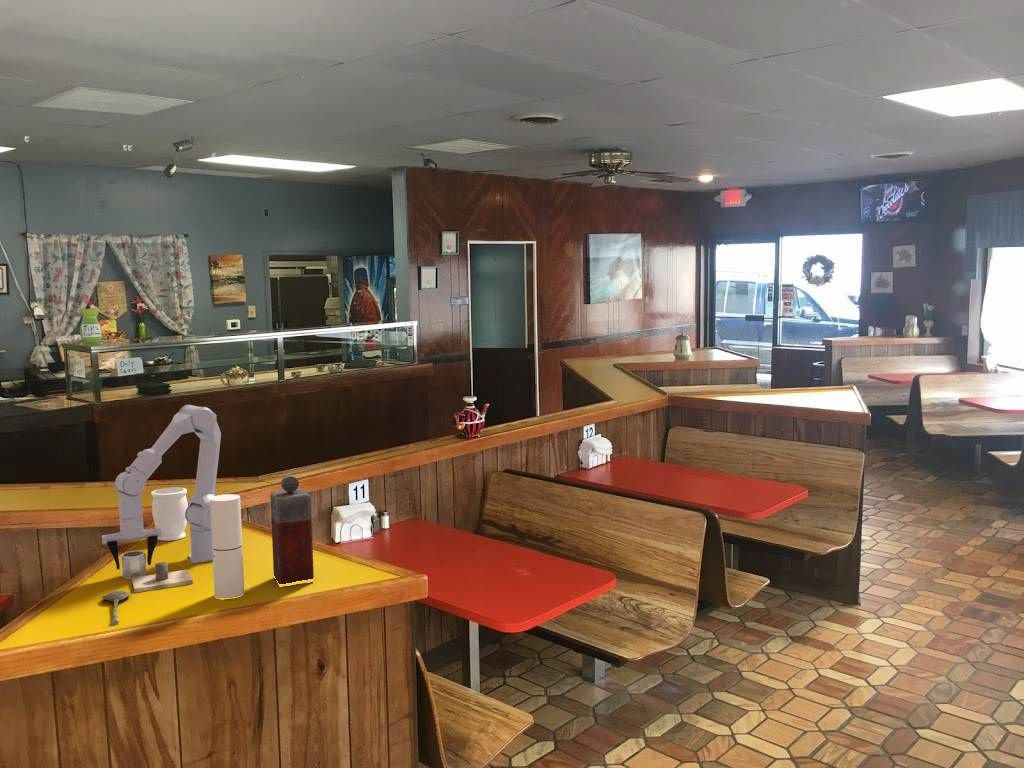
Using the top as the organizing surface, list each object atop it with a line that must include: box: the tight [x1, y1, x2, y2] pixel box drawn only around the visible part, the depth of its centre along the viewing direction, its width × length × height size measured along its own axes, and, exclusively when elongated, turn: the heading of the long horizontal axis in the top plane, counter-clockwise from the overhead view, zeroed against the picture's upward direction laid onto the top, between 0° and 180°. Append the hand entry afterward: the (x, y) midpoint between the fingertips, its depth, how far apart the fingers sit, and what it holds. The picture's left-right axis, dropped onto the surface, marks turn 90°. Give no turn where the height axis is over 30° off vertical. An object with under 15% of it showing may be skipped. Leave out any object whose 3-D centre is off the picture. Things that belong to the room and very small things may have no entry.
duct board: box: [131, 561, 194, 593], centre depth 227 cm, size 14×10×5 cm
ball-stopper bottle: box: [270, 474, 315, 584], centre depth 227 cm, size 9×11×28 cm
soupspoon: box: [101, 590, 132, 626], centre depth 208 cm, size 22×3×7 cm
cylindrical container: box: [210, 493, 245, 598], centre depth 215 cm, size 7×7×25 cm
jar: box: [150, 486, 189, 542], centre depth 269 cm, size 11×10×15 cm
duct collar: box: [120, 550, 148, 580], centre depth 233 cm, size 6×6×6 cm
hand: (133, 566), depth 233 cm, fingers open, 7 cm apart
